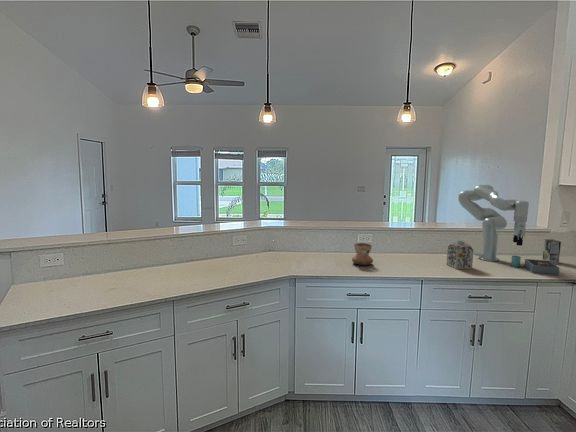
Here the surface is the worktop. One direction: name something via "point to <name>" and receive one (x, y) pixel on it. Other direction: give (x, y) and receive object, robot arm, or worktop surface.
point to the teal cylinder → (515, 261)
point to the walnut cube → (542, 264)
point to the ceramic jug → (362, 254)
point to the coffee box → (551, 250)
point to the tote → (541, 267)
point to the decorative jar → (460, 255)
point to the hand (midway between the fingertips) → (517, 243)
